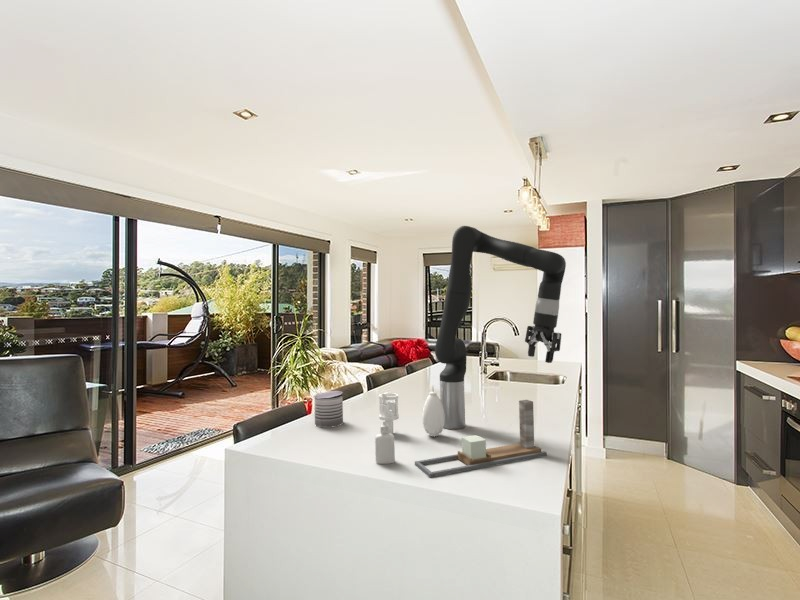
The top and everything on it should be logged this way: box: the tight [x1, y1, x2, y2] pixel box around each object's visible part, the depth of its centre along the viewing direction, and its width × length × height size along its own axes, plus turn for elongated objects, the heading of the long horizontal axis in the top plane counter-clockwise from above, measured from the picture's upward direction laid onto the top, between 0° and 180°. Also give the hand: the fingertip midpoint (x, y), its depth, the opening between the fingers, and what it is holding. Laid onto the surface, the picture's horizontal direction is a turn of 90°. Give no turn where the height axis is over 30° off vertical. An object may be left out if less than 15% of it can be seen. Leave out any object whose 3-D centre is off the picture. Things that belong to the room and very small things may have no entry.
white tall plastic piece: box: [378, 391, 400, 435], centre depth 155 cm, size 7×7×15 cm
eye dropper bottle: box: [374, 420, 396, 465], centre depth 127 cm, size 4×6×12 cm
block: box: [461, 435, 487, 460], centre depth 125 cm, size 5×5×5 cm
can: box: [313, 390, 344, 428], centre depth 170 cm, size 11×11×12 cm
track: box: [414, 451, 548, 478], centre depth 126 cm, size 10×39×1 cm, turn 112°
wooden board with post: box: [457, 399, 542, 466], centre depth 129 cm, size 7×25×16 cm, turn 112°
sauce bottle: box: [422, 385, 445, 438], centre depth 151 cm, size 8×8×18 cm
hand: (539, 359), depth 146 cm, fingers open, 8 cm apart
